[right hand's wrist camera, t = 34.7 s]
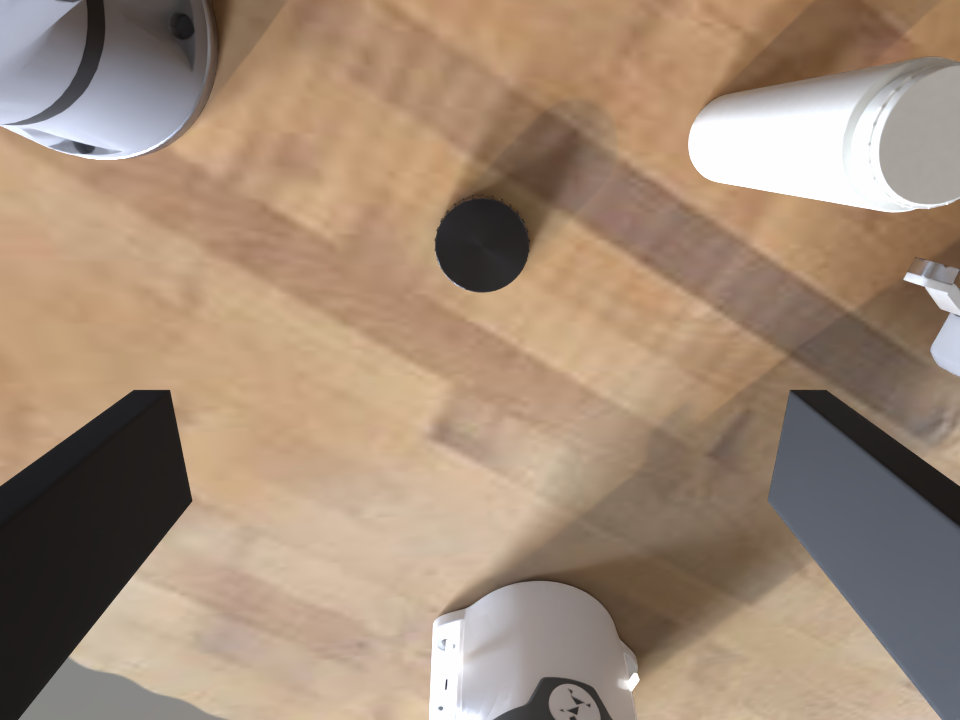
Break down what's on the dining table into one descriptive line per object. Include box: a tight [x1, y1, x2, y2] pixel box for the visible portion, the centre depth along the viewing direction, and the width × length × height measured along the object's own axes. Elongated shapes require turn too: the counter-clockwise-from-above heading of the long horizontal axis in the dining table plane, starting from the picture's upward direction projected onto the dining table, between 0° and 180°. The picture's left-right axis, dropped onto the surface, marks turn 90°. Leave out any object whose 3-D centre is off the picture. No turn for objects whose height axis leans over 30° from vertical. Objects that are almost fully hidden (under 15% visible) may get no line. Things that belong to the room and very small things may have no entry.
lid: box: [435, 195, 530, 292], centre depth 40 cm, size 6×6×2 cm
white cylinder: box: [689, 57, 960, 212], centre depth 29 cm, size 5×5×19 cm
